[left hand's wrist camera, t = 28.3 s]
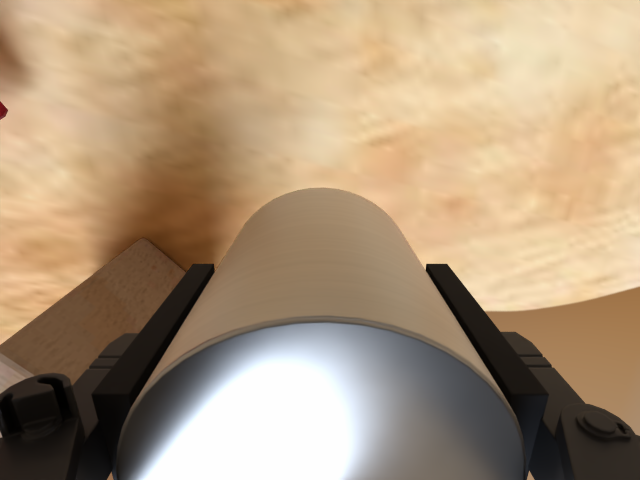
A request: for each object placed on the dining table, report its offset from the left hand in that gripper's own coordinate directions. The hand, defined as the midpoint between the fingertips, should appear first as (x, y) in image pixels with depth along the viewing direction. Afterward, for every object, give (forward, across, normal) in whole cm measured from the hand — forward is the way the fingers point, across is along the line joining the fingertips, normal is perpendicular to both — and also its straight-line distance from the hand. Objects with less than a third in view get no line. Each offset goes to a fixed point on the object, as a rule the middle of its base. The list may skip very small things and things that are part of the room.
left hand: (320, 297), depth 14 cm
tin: (+2, 0, 0) cm, 2 cm away
